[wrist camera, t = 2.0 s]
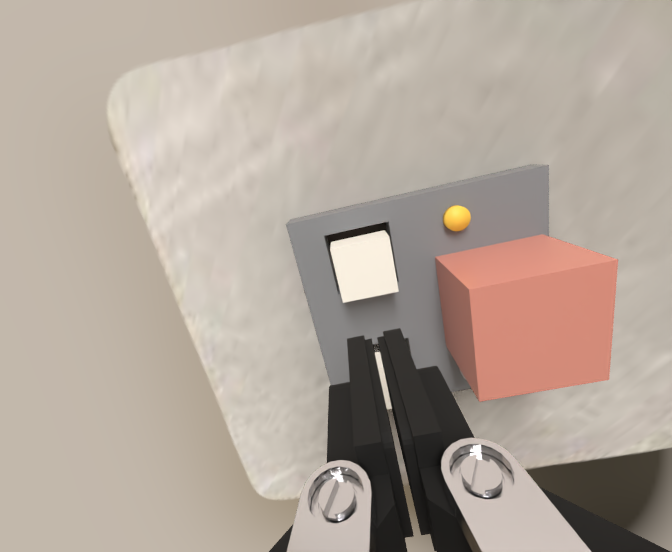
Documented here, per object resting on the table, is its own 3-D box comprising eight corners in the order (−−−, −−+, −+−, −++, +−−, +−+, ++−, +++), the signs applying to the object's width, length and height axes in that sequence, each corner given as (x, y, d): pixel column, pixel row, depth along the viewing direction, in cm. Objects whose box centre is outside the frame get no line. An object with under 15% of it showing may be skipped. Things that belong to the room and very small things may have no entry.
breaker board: (530, 164, 21) (554, 164, 19) (534, 360, 27) (553, 379, 24) (290, 219, 23) (284, 226, 20) (338, 394, 28) (338, 417, 25)
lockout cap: (542, 234, 21) (617, 259, 15) (543, 327, 23) (609, 379, 18) (434, 256, 22) (469, 289, 16) (446, 345, 24) (479, 401, 18)
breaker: (384, 230, 20) (389, 236, 19) (393, 280, 22) (398, 291, 20) (330, 241, 21) (330, 249, 19) (342, 290, 22) (343, 302, 20)
